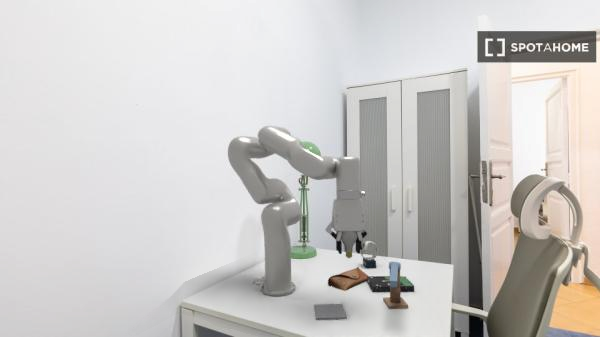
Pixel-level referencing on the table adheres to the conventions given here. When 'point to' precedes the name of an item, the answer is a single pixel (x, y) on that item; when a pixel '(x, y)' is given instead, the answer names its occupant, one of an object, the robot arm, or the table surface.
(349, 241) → the light bulb
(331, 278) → the sunglasses case
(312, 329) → the table surface
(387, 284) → the disk drive
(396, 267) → the latch arm
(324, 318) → the mat
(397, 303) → the post
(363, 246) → the watch
